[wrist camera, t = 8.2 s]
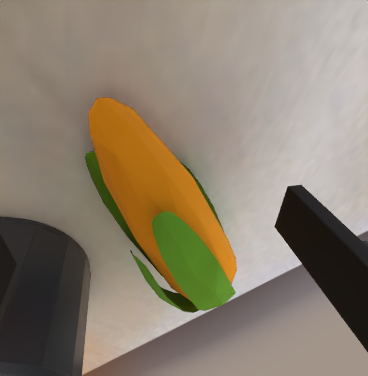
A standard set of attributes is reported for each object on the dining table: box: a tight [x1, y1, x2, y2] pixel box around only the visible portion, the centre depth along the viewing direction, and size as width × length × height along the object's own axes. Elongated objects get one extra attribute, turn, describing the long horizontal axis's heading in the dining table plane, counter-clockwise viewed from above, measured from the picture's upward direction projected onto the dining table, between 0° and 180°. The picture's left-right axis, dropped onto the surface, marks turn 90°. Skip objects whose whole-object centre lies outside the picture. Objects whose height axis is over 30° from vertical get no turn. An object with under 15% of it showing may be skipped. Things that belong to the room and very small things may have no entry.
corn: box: [85, 98, 237, 313], centre depth 18 cm, size 7×8×20 cm
